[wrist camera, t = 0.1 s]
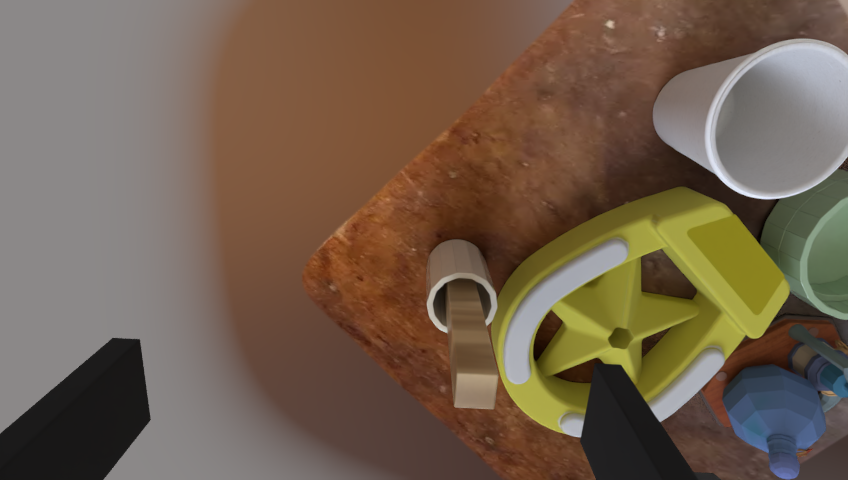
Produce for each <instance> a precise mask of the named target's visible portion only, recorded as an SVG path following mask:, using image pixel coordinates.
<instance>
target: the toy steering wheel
mask: <svg viewBox="0 0 848 480" xmlns="http://www.w3.org/2000/svg"><path fill="white" fill-rule="evenodd" d="M659 249H662V250H663V251H664V252H665V253H666V254H667V256H668V257H669V258H670V259H671V260H672V261H673V262H674V264H675V265H676V266H677V267H678V268H679V269H680V271H681V272H682V273H683V274H684V275H685V276H686V277H687V279H688V280H689V281H690V282H691V283H692V284H693V285H694V287H695V288H696V289H697V293H696V295H695V296H694V298H693V299H692V300H690V299H684V298H678V297H672V296H666V295H660V294H654V293H648V292H642V291H641V256H643V255H645V254H648V253H650V252H653V251H656V250H659ZM784 277H785V275H784V274H783V273H782V272H781V270H780V269H779V268H778V267H777V265H776V264H775V263H774V262H773V260H772V259H771V258H770V257H769V256H768V254H767V253H766V252H765V251H764V249H763V248H762V247H761V246H760V244H759V243H758V242H757V241H756V239H755V238H754V237H753V236H752V234H751V233H750V232H749V231H748V229H747V228H746V227H745V226H744V224H743V223H742V222H741V221H740V219H739V218H738V217H737V216H736V215H735V214H733V213H732V212H731V210H730V209H729V208H728V207H727V206H726V205H725V204H723V203H721V202H719V201H716V200H714V199H712V198H710V197H707V196H705V195H703V194H700V193H698V192H696V191H694V190H691V189H689V188H687V187H676V188H672V189H669V190H666V191H663V192H660V193H657V194H654V195H651V196H647V197H644V198H641V199H638V200H635V201H632V202H630V203H627V204H624V205H622V206H619V207H617V208H614V209H612V210H610V211H607V212H605V213H603V214H601V215H598V216H596V217H594V218H592V219H590V220H588V221H586V222H584V223H582V224H580V225H578V226H577V227H575V228H573V229H571V230H569V231H568V232H566V233H564V234H562V235H561V236H559V237H558V238H556V239H554V240H553V241H551V242H550V243H548V244H546V245H545V246H543V247H542V248H541V249H539V250H538V251H536V252H535V253H533V254H532V255H531V256H529V257H528V258H527V259H526V260H525V261H523V262H522V263H521V264H520V265H519V266H518V267H517V269H516V270H515V271H514V272H513V273H512V274H511V276H510V277H509V278H508V280H507V281H506V283H505V285H504V286H503V288H502V290H501V292H500V294H499V296H498V298H497V310H496V313H495V315H494V318H493V320H492V326H491V332H492V342H493V348H494V352H495V356H496V360H497V364H498V368H499V371H500V375H501V378H502V381H503V383H504V385H505V388H506V390H507V391H508V393H509V395H510V396H511V398H512V399H513V400H514V402H515V403H516V404H517V405H518V406H519V408H520V409H521V410H522V411H523V412H525V413H526V414H527V415H528V416H530V417H531V418H532V419H533V420H535V421H537V422H538V423H540V424H542V425H543V426H545V427H548V428H550V429H552V430H555V431H558V432H561V433H563V434H568V435H571V436H575V437H581V434H582V429H583V423H584V418H585V413H586V408H587V402H588V397H589V392H590V387H591V383H575V382H570V381H566V380H563V379H560V378H557V377H555V376H553V375H554V374H556V373H559V372H561V371H564V370H566V369H569V368H571V367H574V366H576V365H579V364H581V363H584V362H586V361H589V360H591V359H593V358H599V359H600V360H601V361H602V362H603V363H604V364H618V365H622V367H623V368H624V370H625V371H626V373H627V374H628V376H629V377H630V379H631V380H632V382H633V383H634V385H635V386H636V388H637V389H638V391H639V392H640V394H641V395H642V397H643V398H644V400H645V401H646V403H647V404H648V405H649V407H650V408H651V410H652V411H653V413H654V414H655V416H656V417H657V419H658V420H659V422H661V421H663V420H664V419H666V418H667V417H669V416H670V415H672V414H673V413H674V412H675V411H677V410H678V409H679V408H680V407H681V406H682V405H684V404H685V403H686V402H687V401H688V400H689V399H690V398H692V397H693V396H694V395H695V394H696V393H697V392H698V391H699V390H700V389H701V388H702V387H703V386H704V385H705V384H706V383H707V382H708V381H709V380H710V379H711V378H712V377H713V376H714V375H715V374H716V373H717V372H718V371H719V370H720V369H721V367H722V366H723V365H724V363H725V361H726V359H727V358H728V357H729V356H730V355H731V353H732V352H733V351H734V350H735V349H736V347H737V346H738V345H739V344H740V342H741V341H742V340H743V338H744V337H745V336H746V335H747V336H748V337H750V338H753V339H755V338H759V337H761V336H762V335H763V334H764V332H765V331H766V329H767V328H768V326H769V325H770V323H771V322H772V320H773V319H774V317H775V316H776V314H777V313H778V311H779V310H780V308H781V307H782V305H783V304H784V302H785V301H786V299H787V298H788V296H789V293H790V286H789V283H788V281H787V280H786V279H785V278H784ZM550 310H552V311H553V312H554V313H555V314H556V315H557V316H558V317H559V318H560V319H561V320H562V321H563V323H562V325H561V327H560V328H559V330H558V331H557V333H556V334H555V335H554V337H553V338H552V340H551V341H550V343H549V344H548V346H547V347H546V349H545V350H544V351H543V353H542V354H541V356H540V357H539V359H538V360H537V362H536V361H535V359H534V357H533V345H534V340H535V336H536V333H537V330H538V328H539V326H540V324H541V322H542V320H543V319H544V317H545V316H546V314H547V313H548V312H549V311H550ZM670 327H671V328H670ZM667 328H670V329H669V331H668V332H667V333H666V334H665V335H664V336H663V337H662V339H661V340H660V341H659V342H658V343H657V344H656V345H655V346H654V347H653V348H652V349H651V350H650V351H649V352H648V353H647V354H646V355H645V356H644V357H643V358H642V340H643V339H644V338H645V337H648V336H650V335H653V334H655V333H657V332H660V331H662V330H665V329H667Z"/></svg>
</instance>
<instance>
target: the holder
mask: <svg viewBox="0 0 848 480" xmlns="http://www.w3.org/2000/svg"><path fill="white" fill-rule="evenodd" d="M426 278H427V308H428V313H429V317H430V319H431V320H432V321H433V323H434V324H435V325H436V327H437V328H438V329H440V330H442V331H444V332H446V333H447V321H446V310H445V298H444V287H443V285H444V284H445V283H446V282H449V281H451V280H454V279H457V278H466V279H473V280H474V281H476V285H477V289H478V293H479V297H480V301H481V306H482V310H483V314H484V318H485V322H486V326H487V325H488V324H489V323H490V322H492V320H493V318H494V315H495V313H496V310H497V298H496V292H495V289H494V286H493V283H492V280H491V277H490V274H489V270H488V267H487V264H486V261H485V258H484V257H483V255H482V253H481V251H480V250H479V249H478V248H477V247H476V246H475V245H474V244H472V243H470V242H468V241H465V240H460V239H453V240H448V241H445V242H443V243H441V244H439V245H438V246H437V247H436V248H435V249H434V250H433V251H432V252H431V254H430V256H429V258H428V262H427V268H426Z"/></svg>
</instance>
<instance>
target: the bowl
mask: <svg viewBox="0 0 848 480" xmlns="http://www.w3.org/2000/svg"><path fill="white" fill-rule="evenodd" d="M760 246H761V247H762V248H763V249H764V251H765V252H766V253H767V254H768V256H769V257H770V258H771V259H772V260H773V262H774V263H775V264H776V265H777V267H778V268H779V269H780V270H781V272H782V273H783V274H784V275H785V277H784V278H785V279H786V280H787V281H788V283H789V286H790V293H791V294H793V295H795V296H796V297H798V298H800V299H801V300H803V301H805V302H806V303H808V304H810V305H811V306H813V307H815V308H816V309H818V310H820V311H821V312H823V313H826V314H828V315H831V316H833V317H836V318H838V319H843V320H848V170H844V169H837V170H835V171H834V172H833V173H832V174H831V175H830V176H828V177H827V178H826V179H825V180H823V181H822V182H820V183H819V184H817V185H816V186H814V187H812V188H810V189H808V190H806V191H804V192H801V193H799V194H796V195H793V196H789V197H785V198H781V199H780V200H779V201H778V203H777V204H776V205H775V207H774V209H773V210H772V212H771V213H770V215H769V217H768V218H767V220H766V222H765V225H764V229H763V232H762V236H761V239H760Z"/></svg>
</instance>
